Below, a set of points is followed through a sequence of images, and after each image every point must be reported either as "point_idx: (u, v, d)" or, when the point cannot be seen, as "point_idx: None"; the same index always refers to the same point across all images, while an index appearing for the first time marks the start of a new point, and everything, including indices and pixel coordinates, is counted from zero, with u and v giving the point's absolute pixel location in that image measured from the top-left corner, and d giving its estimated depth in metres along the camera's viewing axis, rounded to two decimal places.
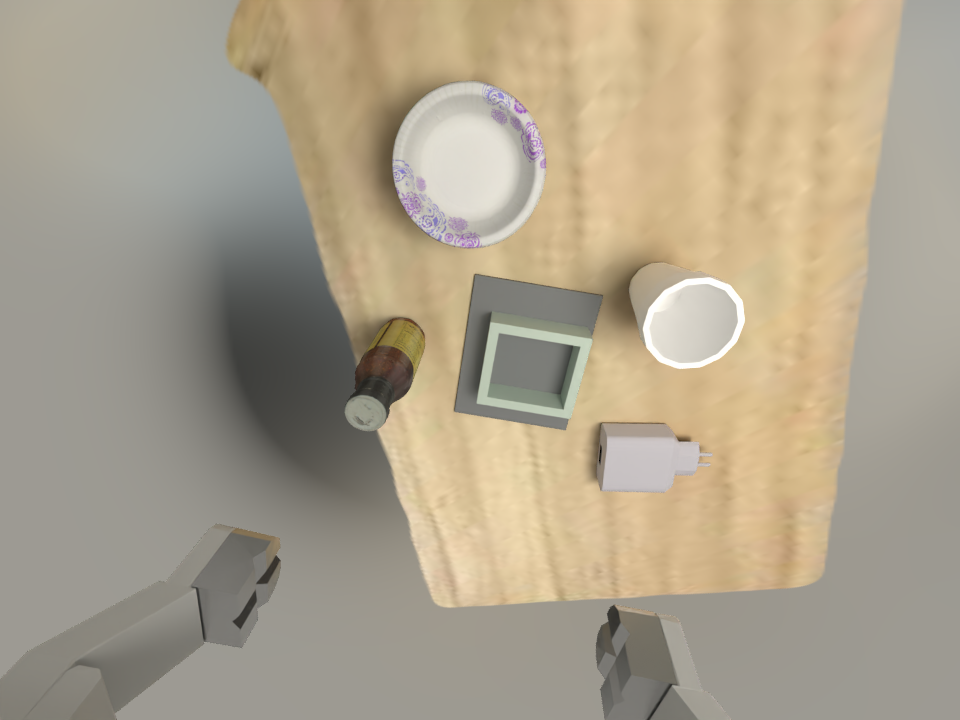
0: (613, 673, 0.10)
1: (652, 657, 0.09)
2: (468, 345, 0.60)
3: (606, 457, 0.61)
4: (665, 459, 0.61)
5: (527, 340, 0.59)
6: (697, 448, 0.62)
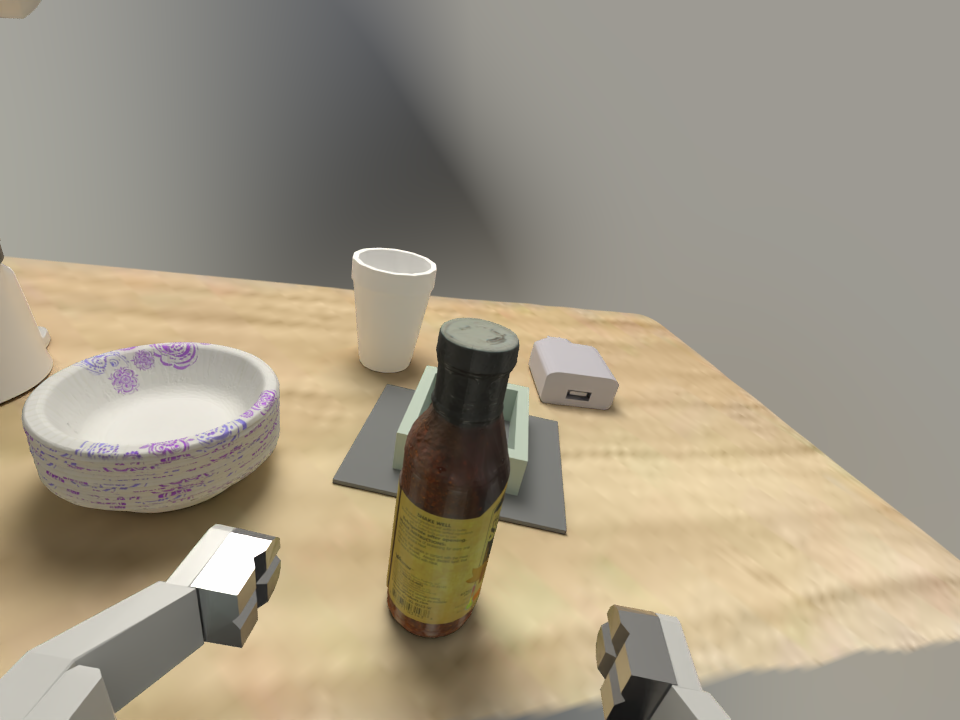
0: (613, 673, 0.10)
1: (652, 657, 0.09)
2: None
3: (571, 373, 0.55)
4: (558, 344, 0.61)
5: None
6: (543, 339, 0.66)
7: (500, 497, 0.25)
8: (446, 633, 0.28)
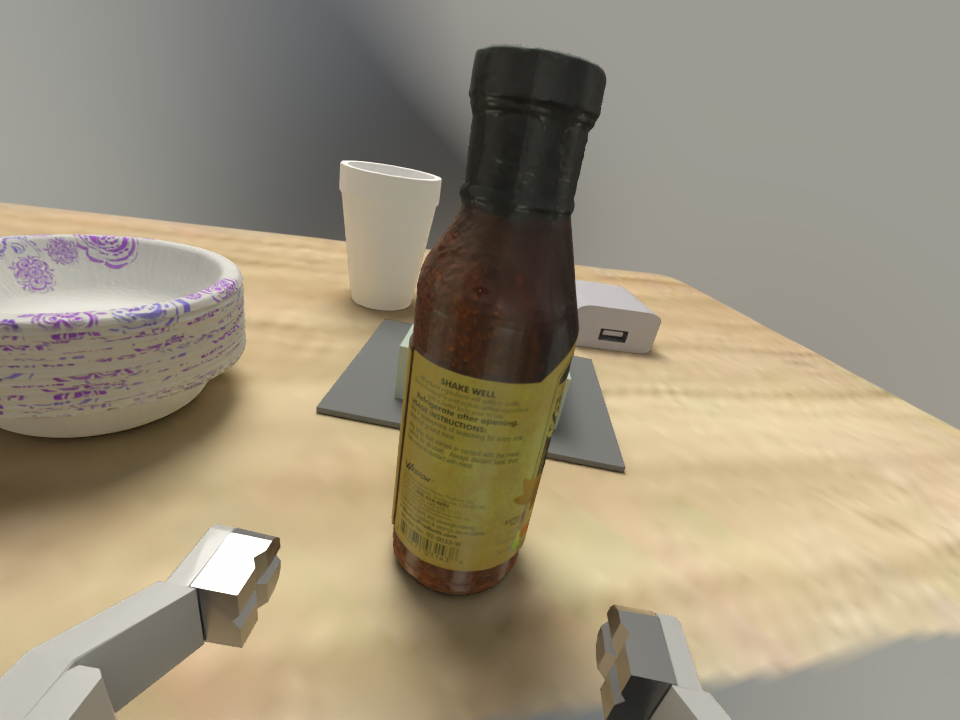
0: (613, 673, 0.10)
1: (652, 657, 0.09)
2: None
3: (605, 307, 0.45)
4: (582, 282, 0.52)
5: None
6: None
7: (569, 357, 0.16)
8: (482, 587, 0.19)
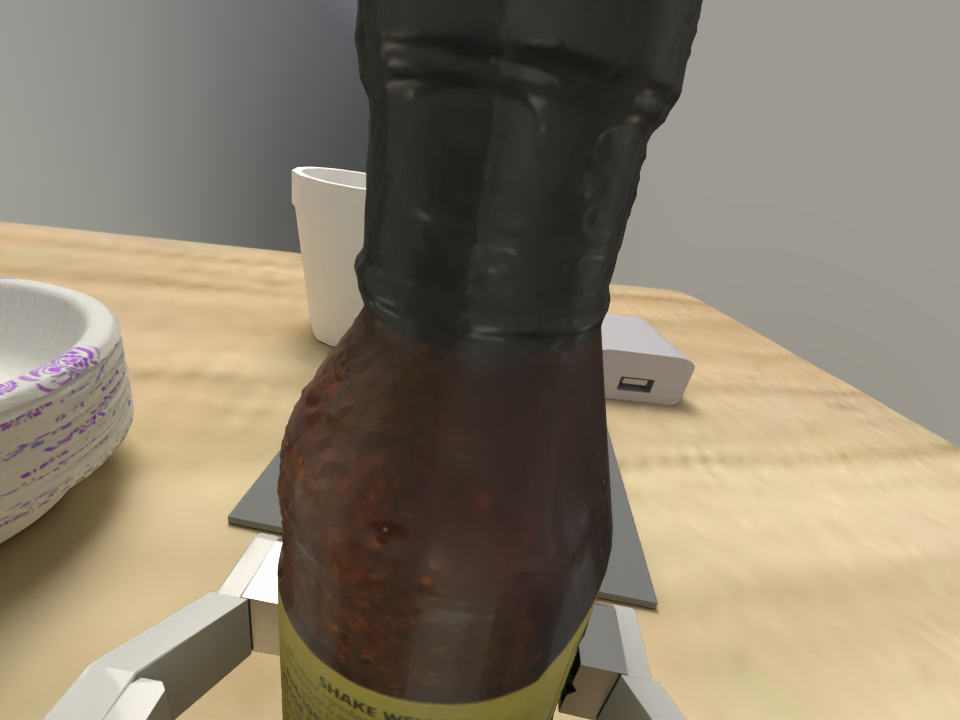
0: None
1: (604, 647, 0.09)
2: None
3: (627, 351, 0.37)
4: None
5: None
6: None
7: (594, 602, 0.08)
8: None
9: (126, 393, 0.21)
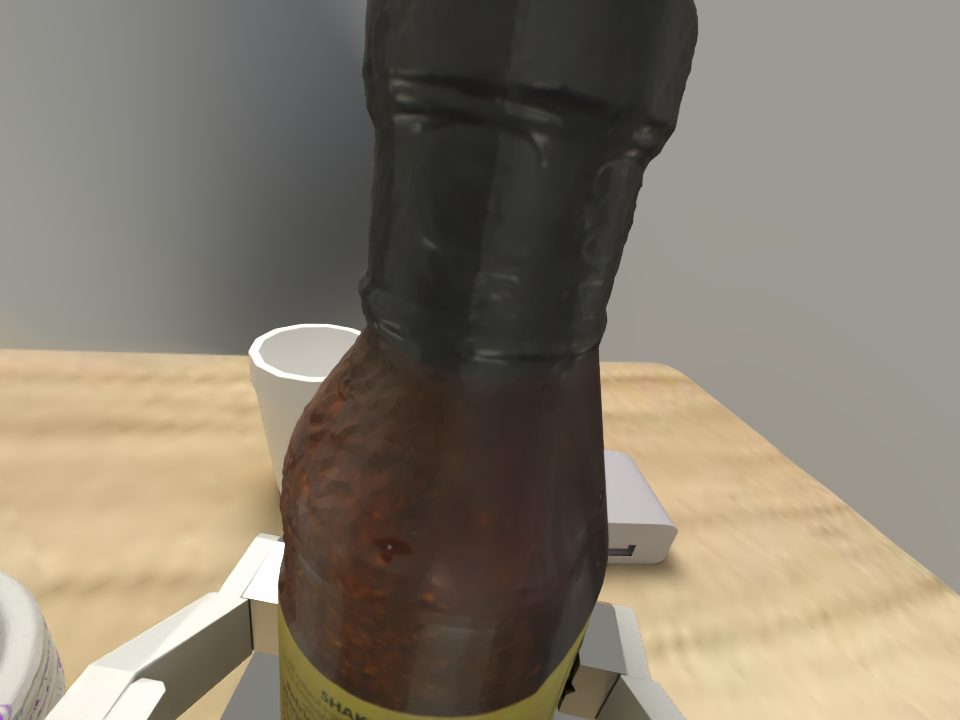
0: None
1: (603, 647, 0.09)
2: None
3: None
4: None
5: None
6: None
7: (591, 614, 0.08)
8: None
9: (52, 705, 0.19)
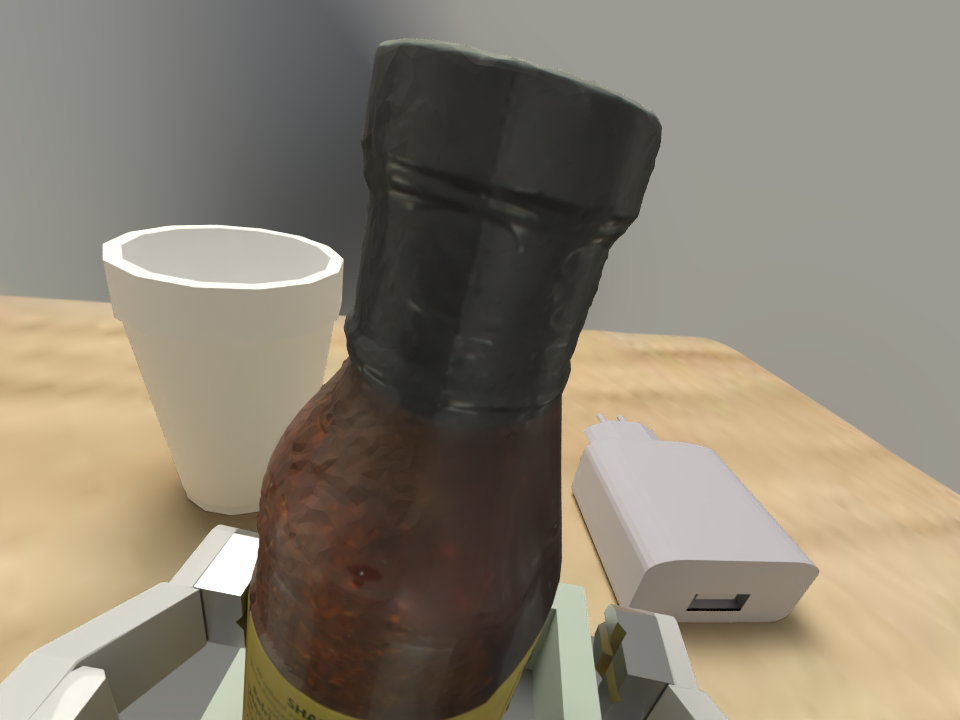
0: (610, 672, 0.10)
1: (649, 656, 0.09)
2: None
3: (709, 559, 0.21)
4: (639, 449, 0.28)
5: None
6: (595, 426, 0.32)
7: (541, 630, 0.09)
8: None
9: None
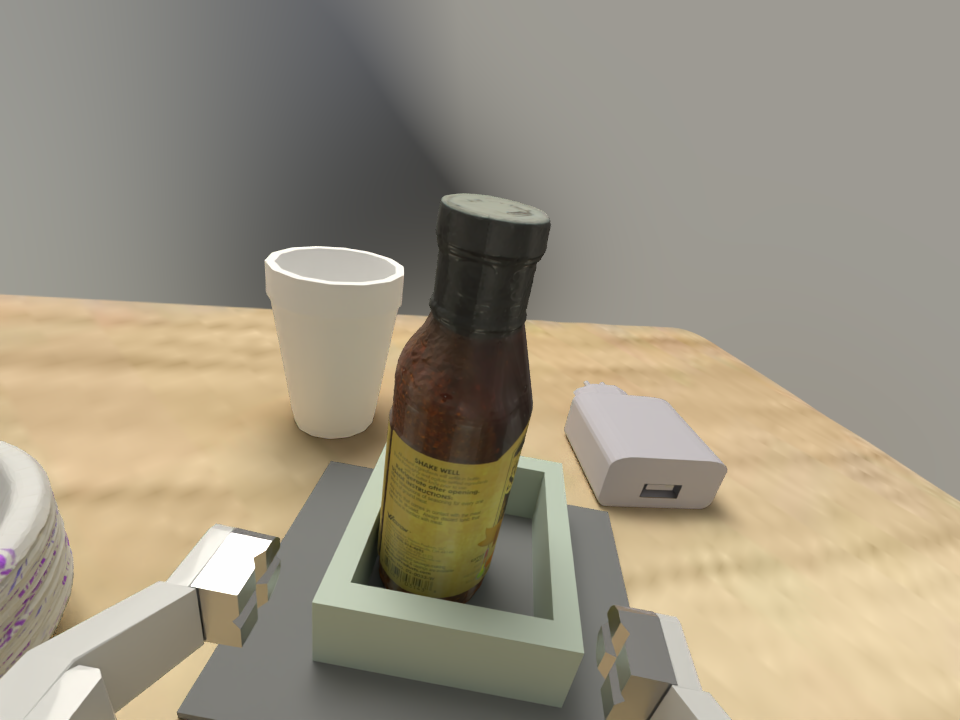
0: (613, 673, 0.10)
1: (652, 657, 0.09)
2: None
3: (651, 457, 0.32)
4: (611, 399, 0.39)
5: None
6: (581, 388, 0.44)
7: (522, 436, 0.19)
8: None
9: (59, 573, 0.18)
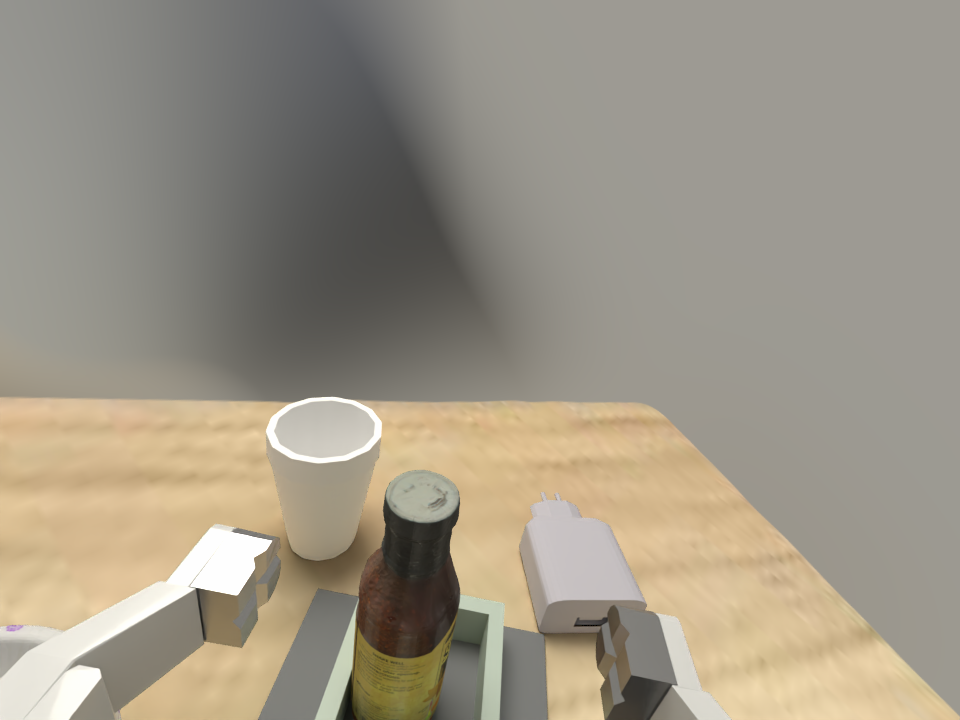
0: (613, 673, 0.10)
1: (652, 657, 0.09)
2: None
3: (582, 599, 0.39)
4: (558, 526, 0.45)
5: None
6: (537, 504, 0.50)
7: (450, 629, 0.27)
8: None
9: None
